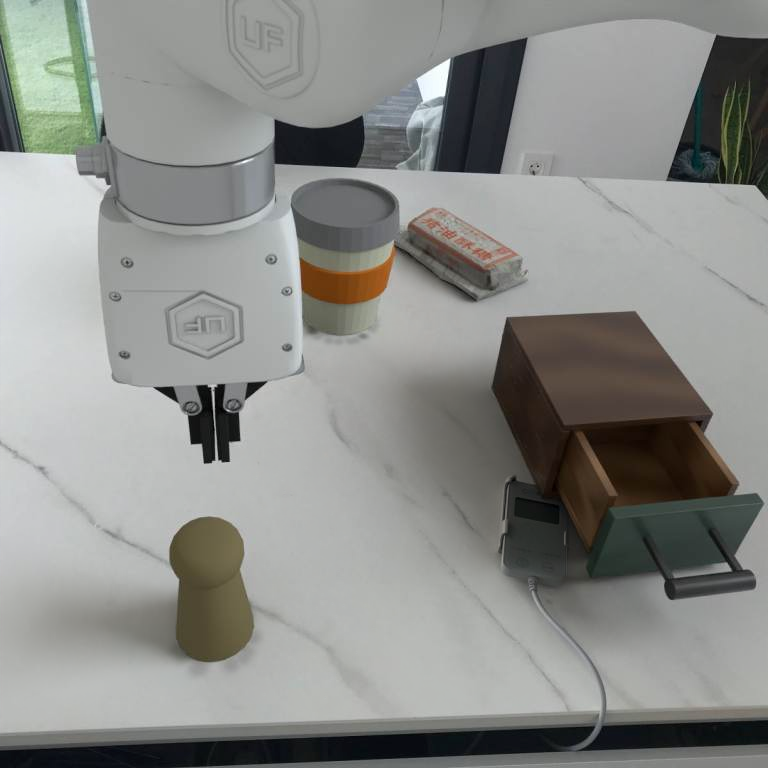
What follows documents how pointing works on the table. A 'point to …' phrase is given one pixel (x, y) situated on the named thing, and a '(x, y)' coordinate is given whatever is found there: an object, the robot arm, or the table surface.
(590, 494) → the drawer
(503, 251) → the packaged product
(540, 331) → the cabinet
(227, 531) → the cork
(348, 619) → the table surface
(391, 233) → the reusable coffee cup
